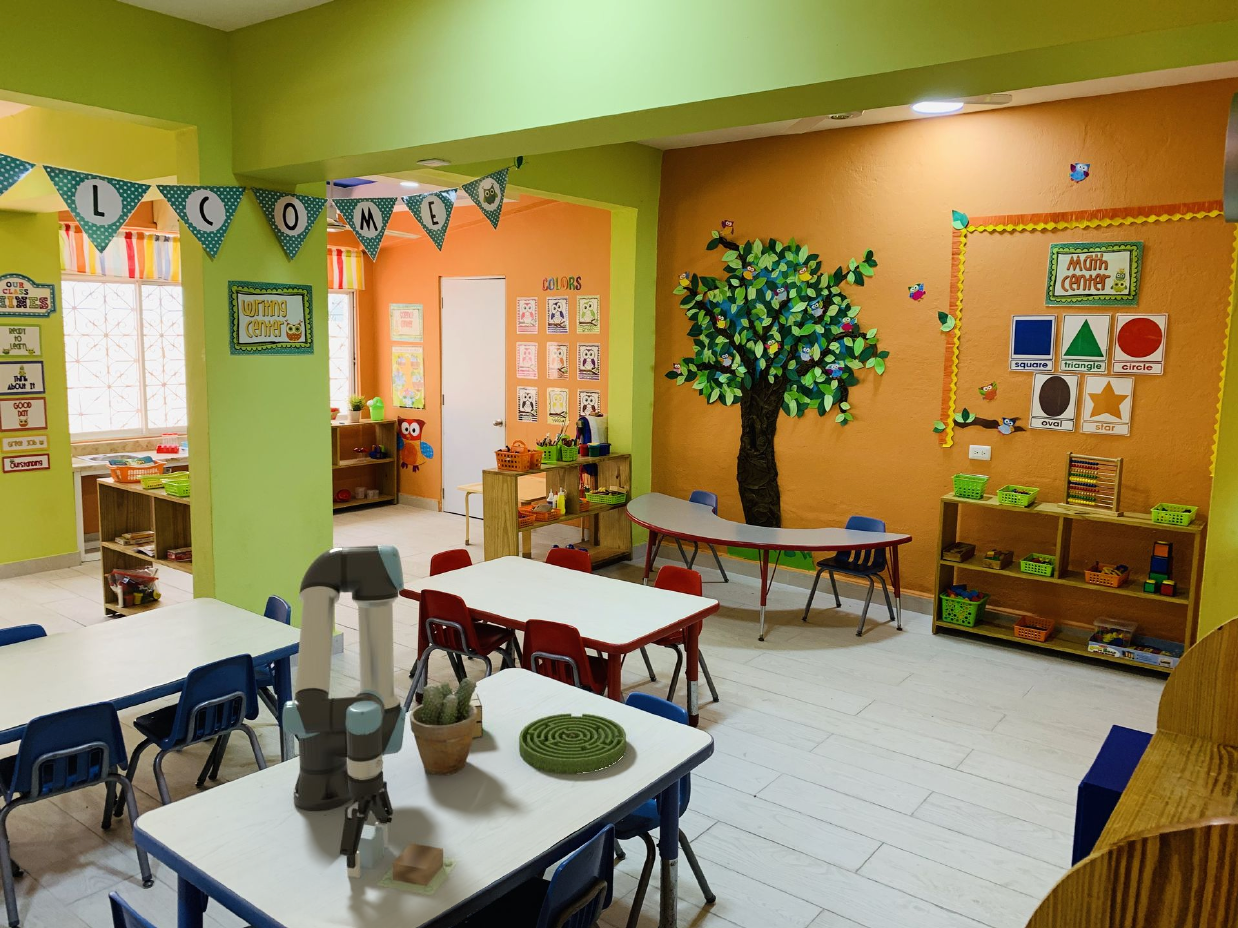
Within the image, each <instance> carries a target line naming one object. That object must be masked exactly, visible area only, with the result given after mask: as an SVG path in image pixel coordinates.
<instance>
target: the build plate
mask: <svg viewBox="0 0 1238 928" xmlns="http://www.w3.org/2000/svg"><path fill="white" fill-rule="evenodd" d="M458 862H459V861H458V860H455V859H448V858H444V857H443V866H442V868H441V869H440V870H439V871H438V873H437V874H436V875H435V876H434V878H433V879H432V880H431V881H430V882H429V884H428V885H427V886H422V885H417V884H412V883H406V882H401V881H395V880H393V866H392V867H391V868H390V869H389V870H388V871H387V873H385V875H384V876H383V877H382V878H381V880H379V881H378V883H377V884H376V886H378V887H379V886H381V887H386V888H390V889H396V890H401V891H407V892H412V893H416V894H417V893H418V894H423V895H428V896H432V895H433V894H434V893H435V892H436V891H437V889H438V888H439V886H441V884H442V883H443V881H445V879H446V878H447V876H448V875H449V874H450V872H451V871H452V870H453V869H454V867H455V866H456V865H457V864H458Z"/></svg>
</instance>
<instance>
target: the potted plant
mask: <svg viewBox="0 0 1238 928" xmlns="http://www.w3.org/2000/svg"><path fill="white" fill-rule="evenodd" d="M476 689H477V681H476V680H474V678H472V677H464V678H463V679H462V681H461V682H460V685H458V687H457V689H456V691H454V692H453V688H452V687H450V685H449V682H445V681H444V682H442V683H441V685H440V687H439V685H437V684H435V683H431V684H427V685H426V686H424V687H423V690H422V693H423V694H422V697H423V698H422V702H421V704H420V705H418V706H417V707H415V708H414V709H412V710H411V712H410V714H409V723H410V730H411V732H412V733H413V737H414V741H415V743H416V747H417V750H418V754H419V757H420V760H421V763H422V765H423V768H424V770H425V771H426V772H428V773H429V774H432V775H437V776H439V775H440V776H445V775H446V776H447V775H451V774H455V773H457V772H459V771H461V770H462V769H464V767H465V765H466V763H467V759H468V757H469V752H470V749H471V746H472V742H473V739H474V738H473V732H474V729H475V727H476V720H477V709H476V707H475V706H474V705H472V704H470V702H471V701H470V699H471V697H472V694H475V691H476Z"/></svg>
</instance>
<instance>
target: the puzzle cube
mask: <svg viewBox="0 0 1238 928" xmlns="http://www.w3.org/2000/svg"><path fill="white" fill-rule="evenodd" d="M470 701H471V702H470V704H472V705H474V706H475V707H476V709H477V720H476V727H475V729H474V732H473V738H472V739H476V738H482V737H483V705H482V703H481V700H480V697H479V694H478V692H477V693H475V692H474V693H473V694H472V697H471V699H470Z"/></svg>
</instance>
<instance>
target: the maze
mask: <svg viewBox="0 0 1238 928" xmlns="http://www.w3.org/2000/svg"><path fill="white" fill-rule="evenodd" d="M626 748H627V734H626V731H625V729H624V728H623V727H622V726H621V725H620V724H619V723H618V722H615V721H614V720H613V719H609V718H607V717H604V716H600V715H597V714H596V715H595V714H590V713H588V714H587V713H582V714H581V716H580V715H579V716H577V715H574V716H573V715H572V713H558V714H553V715H549V716H544V717H541V718H538V719H536V720H534V721H532V722H530V723H528V724H527V725H526V726H524V727H523V729H522V730H521V731H520V733H519V737H518V749H519V750H518V751H519V757H520V758H521V759H522V760H523V761H524V763H526V764H528V765H529V766H530V767H532V768H535V769H538V770H540V771H542V772H543V771H544V772H547V773H550V772H552V774H558V773H559V775H578V774H577V773H583V772H591V771H595V770H599V769H601V768H605V767H609V765H612V764H613V763H615V762H617V761H618V760H619V759H620V758H621V757H622V756H623V755H624V753H625V751H627V749H626ZM625 754H626V753H625ZM624 756H625V755H624ZM624 756H623V757H624ZM612 766H613V765H612ZM609 768H610V767H609ZM591 773H592V772H591Z"/></svg>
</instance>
